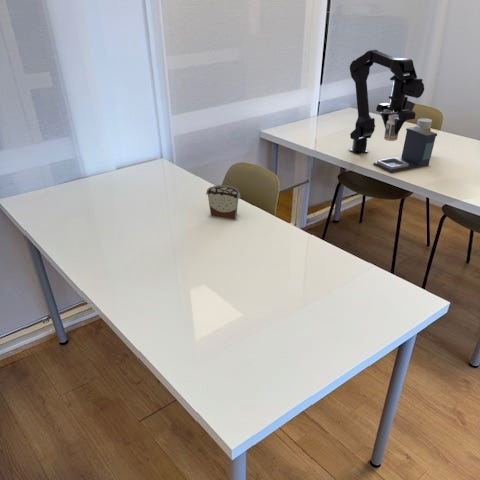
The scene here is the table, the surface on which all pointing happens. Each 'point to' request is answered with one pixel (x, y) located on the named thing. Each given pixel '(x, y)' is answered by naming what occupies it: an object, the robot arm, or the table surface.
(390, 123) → the pill bottle
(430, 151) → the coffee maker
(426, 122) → the bottle
